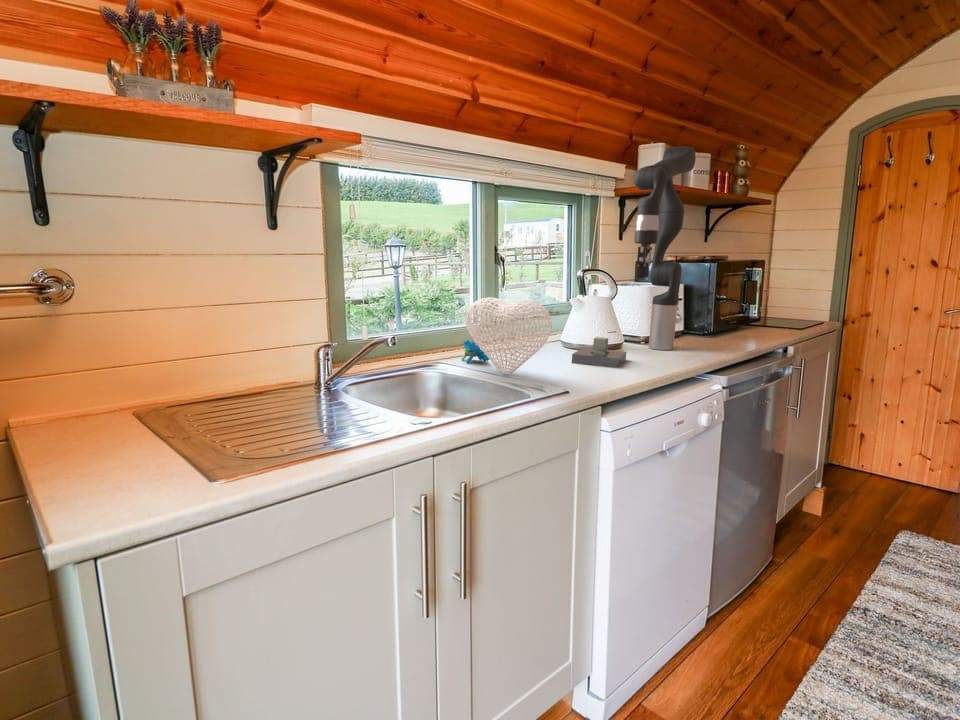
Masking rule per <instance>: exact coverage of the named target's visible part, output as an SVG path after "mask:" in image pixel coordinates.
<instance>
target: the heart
mask: <svg viewBox="0 0 960 720" xmlns="http://www.w3.org/2000/svg"><path fill="white" fill-rule="evenodd" d="M484 307H485V308H484ZM533 308H534V309H533ZM524 311H525V312H524ZM482 312H483V313H482ZM486 314H487V315H486ZM465 316H466V317H465V324H466V328H467V332H468V333H469V335H470V337H471V338H472V339H473V342H474V343H475V345H478V346H479V347H480V349H481V350H482V351H483V352H484V354H486V355H487V357H488V358H489V361H490V363H492V364H493V366H494V367H495V368H496V369H497V370H498V371H499V372H500V373H502V374H504V375H510V374H512V373H515V372H516V371H517V370H519V368H520V367H522V366H523V365H524V364H525V363H526V362H527V361H528V360H530V358H532V357H533V356H534V355H535V354H536V353H538V352H539V351H541V349H542V348H543V347H544V346H545V344H546V342H547V341H548V340H549V338H550V336H551V333H552V326H553V323H552V317H551V315H550V312H549V311H548V310H547V308H545V307H544V305H542V304H539V303H538V302H534V301H530V300H529V301H528V300H527V301H526V300H525V301H524V300H523V301H519V302H514V303H509V302H508V301H506V300H503V299H500V298H498V297H491V296H490V297H489V296H487V297H483V298H480V299H477V300H476V301H474V302H473V303H472V304H471V305H470V306H469V308H468V310H467V312H466V315H465ZM534 317H536V318H534ZM530 318H531V319H530ZM523 319H524V320H523ZM491 321H492V322H491ZM540 322H541V324H540ZM536 323H537V326H536ZM527 324H528V325H527ZM531 324H533V326H532V325H531ZM482 325H483V327H482ZM520 325H521V326H520ZM486 326H487V327H486ZM510 326H511V327H510ZM516 328H517V329H516ZM536 329H537V332H536ZM540 329H541V330H540ZM532 330H533V332H532ZM481 331H482V333H481ZM528 331H529V332H528ZM511 333H512V334H511ZM515 333H516V335H515ZM539 336H540V337H539ZM531 337H532V338H531ZM513 338H514V340H513ZM494 340H495V341H494ZM502 340H503V341H502ZM520 346H521V347H520ZM515 348H516V349H515ZM517 354H518V355H517Z"/></svg>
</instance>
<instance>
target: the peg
mask: <svg viewBox="0 0 960 720" xmlns="http://www.w3.org/2000/svg"><path fill="white" fill-rule="evenodd" d="M592 344H593V346H592V348H593V354H602V355H607V350H609V349H608V347H609V337H601V336H600V337H599V336H596V337H594V338H593V343H592Z"/></svg>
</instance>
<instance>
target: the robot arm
mask: <svg viewBox="0 0 960 720" xmlns="http://www.w3.org/2000/svg"><path fill="white" fill-rule="evenodd" d="M696 156H697V155H696V151H695V149H694V147H692V146H689V145H688V146H675V147H674V146H673V147H667V148H666V149H665V150H664V153H663V156H662V160H660V161H657V162H656V163H655V164H653V165H647V166H643V167H641V168H639V169H638V170H637V171H636V173H635V174H634V178H633V182H634V185H635V187H636V188H637V189H638V190H640V191H648V190H649V191H652V192H651V193H650V195H648V196H643V197H641V198H639V199H638V203H637V215H636V221H635V229H634V244H640V246H638V247H637V259H636V266H637V278H638V279H644V278H648V277H650V283H651V285H652V286H654V287H655V286H656V287H667V288H668V290H666V291H665V292H664V293H661V294H657V295H654V296H653V297H652V305H651V313H650V314H651V316H650V325H649V326H650V327H649V329H650V330H649V339H648V340H649V341H648V348H649V349H652V350H657V351H673V350H674V345H675V344H674V343H675V337H676V336H675V335H676V324H677V311H678V304H679V303H678V301H679V296H680V286H681V280H682V274H683V273H682V271H683V270H682V265H681V263H680V262H675V261H664V257H665V255H666V252H667V250H668V248H669V247H670V245H671V244H672V242H673V241H674V240H675V239H676V237H677V236H678V235H679V234H680V232H681V230H682V228H683V226H684V225H683V224H684V217H685V215H684V214H685V207H684V204H683V201H682V200H681V198H680V197H679V194H678V192H677V191H676V189H675V186H674V181H673V178H674V177H676V176H678V175H681V174H685V173H689V172H691V171H692V170H693V169H694V168H695V165H696V161H697V160H696V159H697V158H696ZM651 244H652V245H654V251H653V247H652V246H651ZM652 254H653V257H652ZM650 266H651V268H650ZM649 270H650V271H649ZM649 273H650V274H649ZM649 275H650V276H649Z"/></svg>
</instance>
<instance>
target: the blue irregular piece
mask: <svg viewBox="0 0 960 720" xmlns="http://www.w3.org/2000/svg"><path fill="white" fill-rule="evenodd" d="M463 346H464V348H465V349H463V350H464V355H463V356H462V358H461V361H464V360H465V359H466V358H467V357H468V359H467V360H466V361H465V362H466V363H467V364H469V363H470V362H471V361H472V360H473V359H474V358H477V359H478V360H480V361H483V362H485V363H486V362H489V361H490V359H489V358H488V357H487V355H486V354H485V353H484V352H483V351H482V349H481V348H480V347H479V346H478V345H477V344H476V343H475V341H474V340H473V341H472V340H471V341H470V340H468V339H466V340H464V341H463Z"/></svg>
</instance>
